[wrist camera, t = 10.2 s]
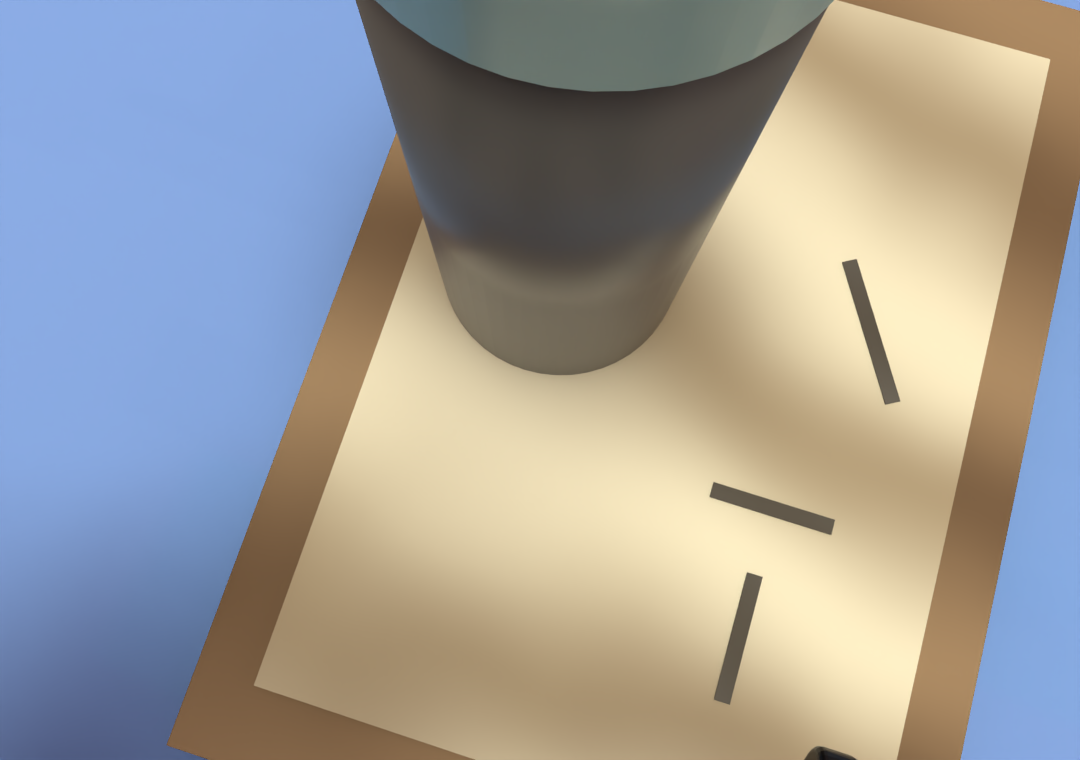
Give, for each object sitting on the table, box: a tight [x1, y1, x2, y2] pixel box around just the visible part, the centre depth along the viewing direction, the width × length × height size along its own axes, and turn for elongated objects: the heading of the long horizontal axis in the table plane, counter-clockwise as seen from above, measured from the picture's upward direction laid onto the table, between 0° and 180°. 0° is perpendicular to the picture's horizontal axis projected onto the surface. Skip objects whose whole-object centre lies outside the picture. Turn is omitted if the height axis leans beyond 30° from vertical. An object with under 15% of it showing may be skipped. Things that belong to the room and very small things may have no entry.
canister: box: [356, 0, 834, 375], centre depth 11 cm, size 5×5×14 cm
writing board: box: [167, 0, 1080, 760], centre depth 18 cm, size 20×14×1 cm
